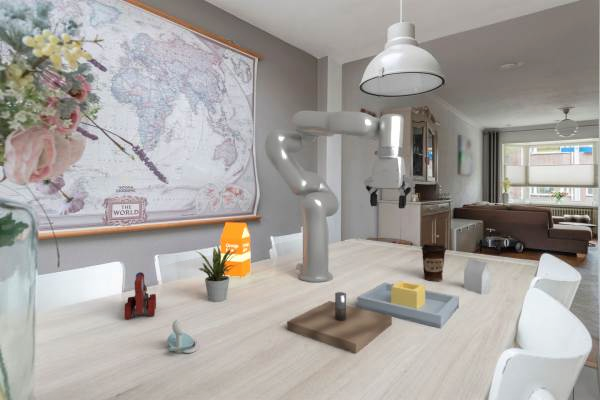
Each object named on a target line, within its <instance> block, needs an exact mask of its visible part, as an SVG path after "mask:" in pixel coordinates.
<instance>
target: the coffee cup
mask: <svg viewBox="0 0 600 400" xmlns="http://www.w3.org/2000/svg"><path fill="white" fill-rule="evenodd" d="M446 251H447V248H446V246H445V245H444V244H443V243H437V242H429V243H428V242H427V243H423V245H422V247H421V252H422V267H423V268H422V269H423V279H424V280H427V281H432V282H440V281H441V282H442V281H443V280H444V279H443V269H444V265H445V254H446Z"/></svg>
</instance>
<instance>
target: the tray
mask: <svg viewBox="0 0 600 400" xmlns="http://www.w3.org/2000/svg"><path fill="white" fill-rule="evenodd" d="M395 284H396V283H395ZM395 284H394V283H390V282H389V283H388V282H382V283H381V284H380V285H378V286H375V287H373V288H372V289H370V290H367V291H366V292H365V293H362V294H360V295H359V296H357V299H356V300H357V301H356V302H357V303H356V305H357V306H356V308H360V309H364V310H368V311H372V312H376V313H380V314H384V315H388V316H392V318H397V319H400V320H401V319H402V320H405V321H410V322H412V323H418V324H421V325H426V326H429V327H433V328H437V329H442V328H443V327H444V326H445V324H446V323H447V322H448V321H449V320H450V319H451V317H452V316H453V314H455V312H456V311H457V310H458V309H459V308H460V307H459V306H460V296H459V295H453V294H449V293H448V294H447V293H442V292H437V291H432V290H427V289H425V304H423V305H422V306H421V307H420V308H419V309H416V308H411V307H407V306H402V305H398V304H393V303H391V287H392V286H393V285H395Z"/></svg>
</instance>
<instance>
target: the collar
mask: <svg viewBox="0 0 600 400" xmlns="http://www.w3.org/2000/svg"><path fill="white" fill-rule="evenodd" d="M425 290H426V285H424V284H419V283H413V282H407V281H402V280H400V281H398V282H397V283H395V285H393V286H392V287H391V303H393V304H398V305H402V306H407V307H411V308H416V309H419V308H420V307H421V306H422V305H423V304H425Z"/></svg>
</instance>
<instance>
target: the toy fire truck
mask: <svg viewBox="0 0 600 400" xmlns="http://www.w3.org/2000/svg"><path fill="white" fill-rule="evenodd" d="M156 309H157V294H156V293H150V294H149V293H148V287H147V285H146V284H145V274H144V272H140V271H139V272H137V273H136V274H135V280H134V296H128V297H127V302H125V303H124V309H123V310H124V315H123V316H124V320H131V319H132V318H133V313H135V314H136V316H139V315H143V314H144V313H145V312H147V316H148V317H154V316H155V314H156Z"/></svg>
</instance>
